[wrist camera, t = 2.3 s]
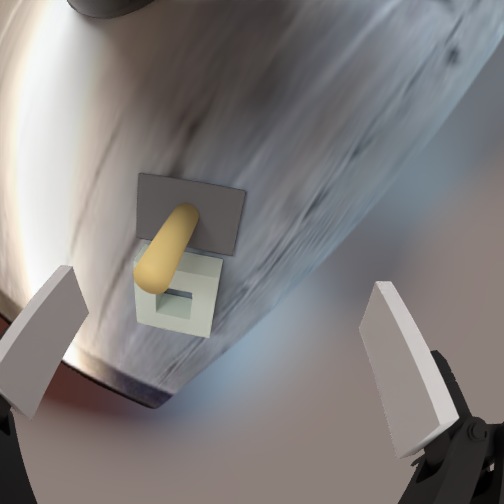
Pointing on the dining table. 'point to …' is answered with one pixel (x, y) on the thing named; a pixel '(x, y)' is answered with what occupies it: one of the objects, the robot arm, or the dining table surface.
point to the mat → (202, 198)
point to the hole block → (180, 308)
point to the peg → (166, 250)
